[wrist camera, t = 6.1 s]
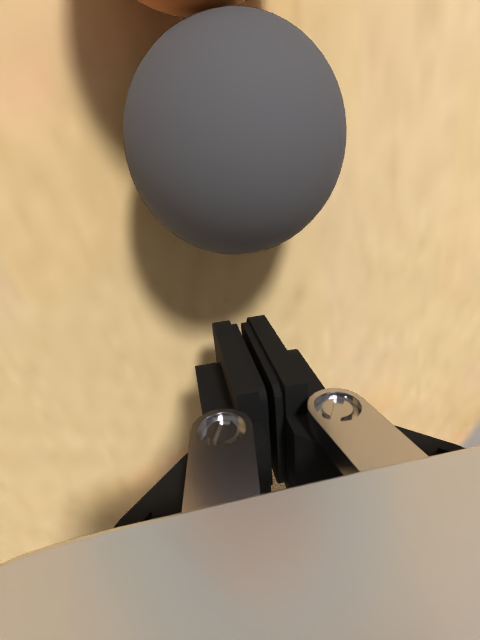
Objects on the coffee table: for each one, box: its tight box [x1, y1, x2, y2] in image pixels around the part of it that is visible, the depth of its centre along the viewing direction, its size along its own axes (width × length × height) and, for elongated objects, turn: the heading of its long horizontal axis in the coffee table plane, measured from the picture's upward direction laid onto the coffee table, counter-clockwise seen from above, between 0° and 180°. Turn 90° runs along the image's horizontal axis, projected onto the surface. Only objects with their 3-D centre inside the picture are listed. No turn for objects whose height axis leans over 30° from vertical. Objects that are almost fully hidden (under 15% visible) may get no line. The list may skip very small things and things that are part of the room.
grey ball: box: [123, 6, 346, 254], centre depth 9 cm, size 5×5×5 cm
